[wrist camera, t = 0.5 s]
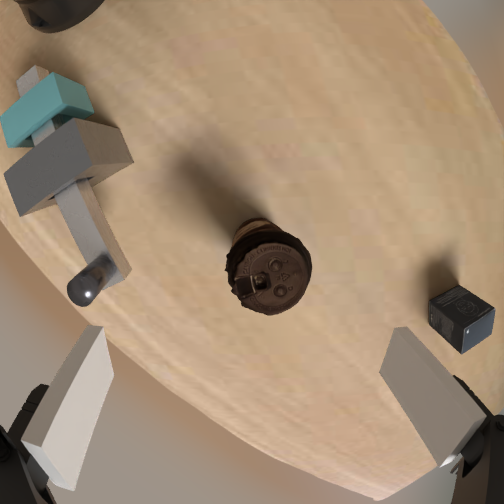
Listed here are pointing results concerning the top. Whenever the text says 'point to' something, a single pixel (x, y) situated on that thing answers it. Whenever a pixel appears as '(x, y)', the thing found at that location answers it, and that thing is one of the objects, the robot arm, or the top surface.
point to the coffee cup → (267, 267)
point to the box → (461, 318)
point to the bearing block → (66, 163)
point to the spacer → (44, 108)
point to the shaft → (82, 220)
